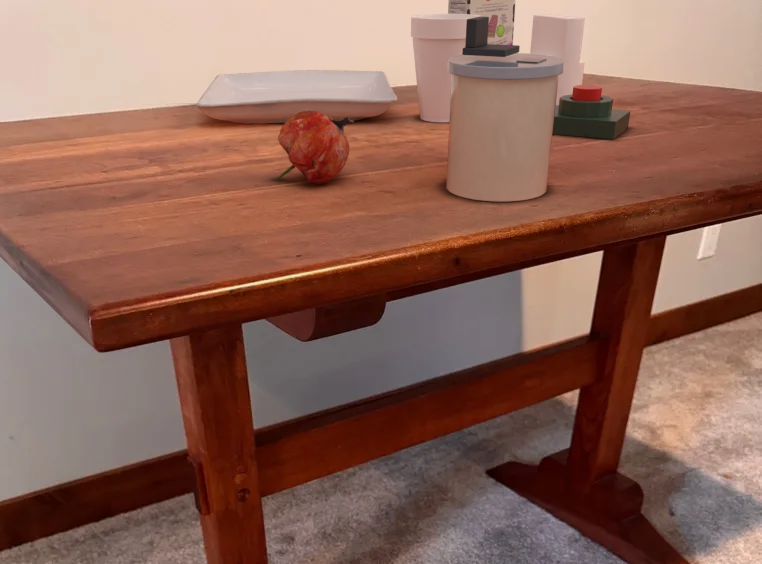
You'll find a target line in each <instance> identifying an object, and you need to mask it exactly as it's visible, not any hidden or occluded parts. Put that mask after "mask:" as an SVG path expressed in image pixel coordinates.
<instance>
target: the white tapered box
mask: <svg viewBox="0 0 762 564" xmlns="http://www.w3.org/2000/svg"><path fill="white" fill-rule="evenodd" d="M585 20H586V18H585V17H578V16H569V15H561V14H559V15H558V14H552V13H548V14H547V13H546V14H544V13H543V14H533V16H532V29H531V39H530V48H529V49H530V51H529V54H540V55H548V56H554V57H559V58H562V59H563V60H564V61H565V64H564V72H563V73H562V74H560V75H559V79H558V88H557V97H556V105H559V100H560V97H562V96H564V95H572V93H573V87H574V86H576V85H583V78H584V70H585V64H586V61H585V60H584V59H581V54H582V46H583V38H584V29H585Z"/></svg>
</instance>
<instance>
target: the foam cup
mask: <svg viewBox="0 0 762 564" xmlns="http://www.w3.org/2000/svg"><path fill="white" fill-rule="evenodd" d="M475 17H481V16H480V15H472V14H448V13H427V14H416V15H412V16H411V17H410V37H412V48H413V58H414V67H415V78H416V80H415V81H416V89H417V97H418V98H417V100H418V109H419V115H420V116H419V117H420V120H422V121H425V122H431V123H449V116H450V94H451V73H449V72H448V70H447V66H448V59H449V58H452V57H455V56H460V55H462V51H463V48H465V44H466V24H467V19H470V18H475Z"/></svg>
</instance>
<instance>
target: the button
mask: <svg viewBox="0 0 762 564" xmlns="http://www.w3.org/2000/svg"><path fill="white" fill-rule="evenodd" d="M602 93H603V87H602V86H601V85H596V84H582V85H576V86H574V87H573V93H572V99H573V100H579V101H598V100H601V95H602Z"/></svg>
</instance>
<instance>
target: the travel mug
mask: <svg viewBox="0 0 762 564" xmlns="http://www.w3.org/2000/svg"><path fill="white" fill-rule="evenodd" d="M564 64H565V61H564V60H563V59H562V58H559V57H554V56H548V55H540V54H530V53H526V52H525V53H523V52H518V53H515V54H512V55H509V56H506V57H494V56H474V55H460V56H455V57H452V58H449V59H448V66H447V70H448V72H449V73H451V94H450V116H449V122H448V140H447V141H448V143H447V163H446V166H447V167H446V186H445V187H446V190H447V191H448V192H449V193H451V194H452V195H455V196H457V197H460V198H464V199H469V200H474V201H481V202H494V203H495V202H497V203H499V202H500V203H505V202H506V203H508V202H521V201H528V200H532V199H537V198H539V197H541V196H543V195H545V193H546V192H547V189H548V182H549V181H548V180H549V171H550V161H551V152H552V145H553V142H552V141H553V135H554V134H553V125H554V116H555V107H556V97H557V88H558V79H559V75H560V74H562V73H563V72H564Z"/></svg>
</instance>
